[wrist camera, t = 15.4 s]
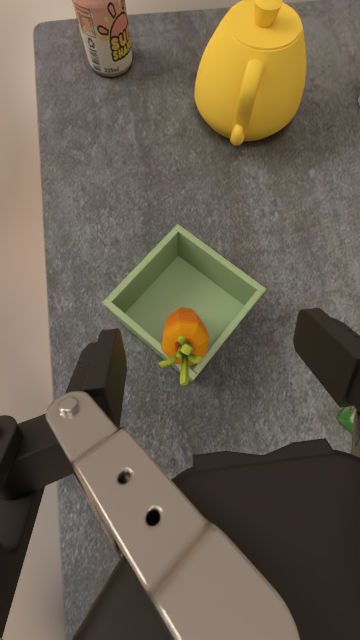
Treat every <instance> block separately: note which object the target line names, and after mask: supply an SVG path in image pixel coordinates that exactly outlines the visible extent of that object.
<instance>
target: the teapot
mask: <svg viewBox="0 0 360 640" xmlns="http://www.w3.org/2000/svg"><path fill="white" fill-rule="evenodd" d="M305 78H306V50H305V40H304V33H303V28H302V23H301V20H300V18H299V16H298V14H297V13H296V12H295V11H294V10H293V9H292V8H291V7H290V6H288V5H286V4H284V3H283V0H244V1H242V2H239V3H237V4H236V5H235V6H233V7H232V8H231V9H230V10H229V11H228V13H227V14H226V15H225V17H224V18H223V19H222V21H221V23H220V24H219V26H218V28H217V29H216V31H215V33H214V34H213V36H212V38H211V39H210V41H209V43H208V45H207V47H206V49H205V51H204V54H203V56H202V59H201V62H200V65H199V69H198V72H197V77H196V82H195V101H196V105H197V108H198V110H199V112H200V114H201V116H202V117H203V118H204V120H205V121H206V122H207V124H208V125H209V126H210V127H211V128H212V129H213V130H215V131H216V132H217V133H219V134H220V135H222V136H224V137H227V138H229V139H230V142H231V143H232V144H233V145H235V146H237V145H241V144H242V143H243V141H255V140H260V139H263V138H265V137H268V136H270V135H272V134H274V133H276V132H278V131H279V130H281V129H282V128H284V127H285V126H286V125H287V124H288V123H289V122H290V121H291V120H292V118H293V117H294V115H295V114H296V112H297V109H298V107H299V104H300V102H301V98H302V94H303V90H304V84H305Z"/></svg>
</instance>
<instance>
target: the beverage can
mask: <svg viewBox="0 0 360 640" xmlns="http://www.w3.org/2000/svg"><path fill="white" fill-rule="evenodd" d="M72 2H73V5H74V9H75V12H76V16H77V20H78V24H79V27H80V31H81V35H82V38H83V42H84V46H85V50H86V53H87V57H88V61H89V63H90V65H91V67H92V68H93V69H94V70H95V71H96V72H97V73H99V74H100V75H103V76H106V77H115V76H119V75H121V74H123V73H125V72H126V71H127V70H128V68H129V67H130V65H131V62H132V50H131V42H130V35H129V28H128V20H127V13H126V6H125V0H72Z"/></svg>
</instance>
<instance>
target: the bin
mask: <svg viewBox="0 0 360 640" xmlns="http://www.w3.org/2000/svg"><path fill="white" fill-rule="evenodd" d="M265 290H266V288H264V287H263V286H261V285H260V284H259V283H257V282H256V281H255V280H253V279H252V278H251V277H249V276H248V275H246V274H245V273H244V272H242V271H241V270H240V269H238V268H237V267H236V266H234V265H233V264H231V263H230V262H229V261H227V260H226V259H225V258H223V257H222V256H221V255H219V254H218V253H217V252H215V251H214V250H212V249H211V248H210V247H208V246H207V245H206V244H204V243H203V242H202V241H200V240H199V239H197V238H196V237H195V236H193V235H192V234H191V233H189V232H188V231H187V230H185V229H184V228H182V227H181V226H180V225H178V224H177V225H176V226H175V227H174V228H173V229H172V230H171V231H170V232H169V233H168V234H167V235H166V236H165V238H164V239H163V240H162V241H161V242H160V243H159V244H158V245H157V246H156V247H155V248H154V249H153V250H152V251H151V252H150V253H149V254H148V255H147V256H146V257H145V258H144V259H143V260H142V261H141V262H140V264H139V265H138V266H137V267H136V268H135V269H134V270H133V271H132V272H131V273H130V274H129V275H128V276H127V277H126V278H125V279H124V280H123V281H122V282H121V283H120V284H119V285H118V286H117V287H116V288H115V289H114V291H113V292H112V293H111V294H110V295H109V296H108V297H107V298H106V299H105V300H104V301H103V302H102V304H103V305H104V306H105V307H106V308H107V309H108V310H109V311H110V313H111V314H112V315H113V316H114V317H115V318H116V319H117V320H118V321H119V322H120V323H122V324H123V325H124V326H125V327H126V328H128V329H129V330H130V331H131V332H132V333H133V334H135V335H136V336H137V337H138V338H139V339H140V340H142V341H143V342H144V343H145V344H146V345H148V346H149V347H150V348H151V349H152V350H153V351H155V352H156V353H157V354H158V355H159V356H160V357H162V358H163V359H164V360H167V359H169V358H168V357H167V355H166V354H165V353H164V352H163V351H162V349H161V346H162V338H163V330H164V326H165V322H166V319H167V318H168V316H169V315H170V314H171V313H173V312H174V311H176V310H177V309H178V308H180V307H183V308H191V309H193V310H194V311H195V313H196V314H197V315H198V316H199V318H200V319H201V320H202V322H203V323H204V325H205V327H206V329H207V331H208V334H209V341H208V347H207V352H206V356H204V357H203V358H202V362H201V364H195V363H194V364H192V365H188V368H189V381H190V382H191V381H193V380H194V379H195V378H196V377H197V375H198V374H199V373H200V372H201V370H202V369H203V368H204V367H205V365H206V364H207V363H208V362H209V360H210V359H211V358H212V357H213V355H214V354H215V353H216V352H217V350H218V349H219V348H220V347H221V345H222V344H223V343H224V342H225V340H226V339H227V338H228V337H229V335H230V334H231V333H232V332H233V330H234V329H235V328H236V327H237V325H238V324H239V323H240V322H241V320H242V319H243V318H244V317H245V315H246V314H247V313H248V312H249V310H250V309H251V308H252V307H253V305H254V304H255V303H256V302H257V300H258V299H259V298H260V297H261V295H262V294H263V293H264V292H265ZM171 366H172V367H173V368H175V369H176V370H177V371H178V372H179V373H180V371H181V364H174V363H172V364H171Z"/></svg>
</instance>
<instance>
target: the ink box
mask: <svg viewBox="0 0 360 640" xmlns="http://www.w3.org/2000/svg"><path fill="white" fill-rule="evenodd" d="M355 411H356V408H355V407H354V406H349V407H345V408H344V409H343V410H342V412H341V413H340V414H339V416H338V418H337V420H338V421H339V422H340V423H341V424H342V425H344V426H345V427H346V428H347V429H348V430H349V431H350V432H351V433H352V434H353V422H354V414H355Z"/></svg>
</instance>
